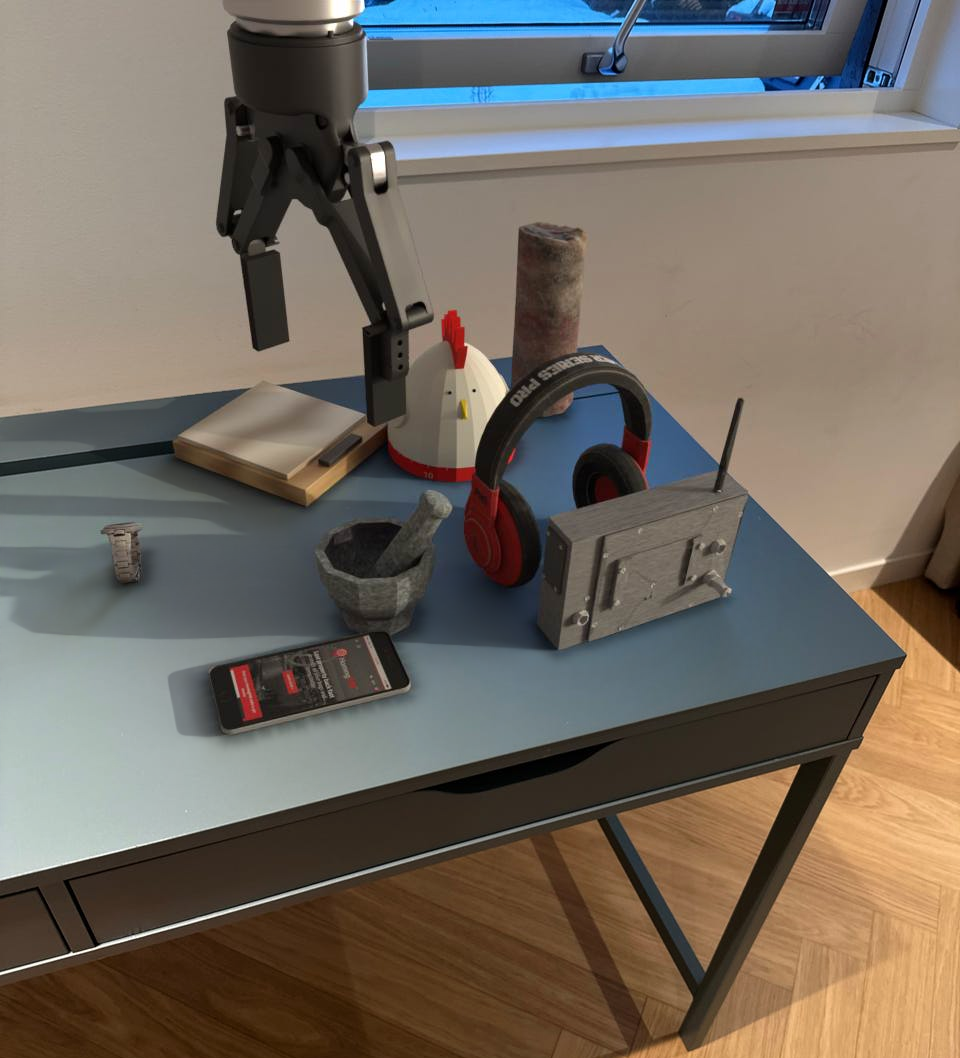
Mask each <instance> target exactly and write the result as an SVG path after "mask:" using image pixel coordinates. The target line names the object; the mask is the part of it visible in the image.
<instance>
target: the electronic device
mask: <svg viewBox="0 0 960 1058" xmlns="http://www.w3.org/2000/svg"><path fill="white" fill-rule="evenodd" d="M744 404H745V399H744V398H743V397H738V398H737V401H736V403H735V406H734V410H733V414H732V417H731V421H730V424H729V428H728V432H727V434H726V435H727V436H726V439H725V442H724V443H725V444H724V446H723V451H722V454H721V457H720V461H719V465H718V469H715V470H712V471H708V472H705V473H701V474H698V475H695V476H691V477H687V478H683V479H680V480H676V481H673V482H669V483H665V484H662V485H659V486H655V487H650V488H649V489H647V490H643V491H640V492H636V493H633V494H629V495H626V496H622V497H618V498H615V499H611V500H608V501H604V502H600V503H597V504H593V505H590V506H586V507H582V508H579V509H577V508H576V509H572V510H569V511H565V512H561V513H558V514H554V515H550V516H548V520H547V528H546V535H545V544H544V545H545V547H544V554H543V563H542V571H541V573H542V574H541V584H540V594H539V601H538V602H539V603H538V612H537V621H536V624H537V626H538V627H539V629H540V630H541V631H542V633H544V635H545V636H546V637H547V639H548V640H549V641H550V643H552V645H553V646H554V647H555V648H556V649H557V651H561V650H563V649H568V648H571V647H573V646H576V645H578V644H582V643H584V642H588V643H589V642H592V641H595V640H598V639H602V638H604V637H607V636H610V635H613V634H616V633H619V632H622V631H625V630H628V629H630V628H634V627H636V626H639V625H642V624H643V625H644V624H645V623H649V622H651V621H655V620H657V619H661V618H663V617H666V616H668V615H672V614H675V613H677V612H681V611H683V610H686V609H690V608H692V607H695V606H698V605H702V604H705V603H707V602H710V601H713V600H717V599H719V598H727V597H729V596H730V595H731V593H732V591H733V590H732V588H731V587H729V586H728V585H727V584H726V583H725V580H726V576H727V573H728V570H729V567H730V562H731V558H732V555H733V551H734V548H735V544H736V541H737V539H738V534H739V530H740V528H741V524H742V520H743V516H744V513H745V508H746V506H747V503H748V499H749V495H748V493H749V490H748V489H746V488H745V487H744V486H742V484H740V483H739V482H738V481H736V480H735V479H734V478H733V477H732V476H730V474H728V470H729V467H730V462H731V458H732V454H733V450H734V445H735V443H736V437H737V433H738V429H739V425H740V421H741V416H742V412H743V408H744Z"/></svg>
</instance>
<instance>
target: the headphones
mask: <svg viewBox="0 0 960 1058" xmlns="http://www.w3.org/2000/svg"><path fill="white" fill-rule="evenodd" d="M600 384H601V385H602V384H603V385H609V386H611V387H613V388H614V389H615V390H616V391H617V392H618V395H619V398H620V401H621V403H620V404H621V408H622V413H623V421H624V425H623V432H622V433H623V435H622V440H621V445H620V446H618V445H616V444H613V443H607V442H604V443H603V442H602V443H598V444H595V445H591V446H589V447H588V448H586V449H584V451H583V452H582V453H581V454H580V455H579V457H578V458H577V461H576V463H575V465H574V469H573V473H572V482H571V483H572V484H571V486H572V487H571V489H572V494H573V500H574V504H575V508H576V509H579V508H582V507H586V506H590V505H593V504H597V503H600V502H604V501H608V500H611V499H615V498H618V497H622V496H626V495H629V494H633V493H636V492H640V491H643V490H647V489H650V487H649V483H648V480H647V478H646V476H645V475H646V470H647V468H648V464H649V458H650V452H651V446H652V439H651V438H650V437H651V434H652V429H653V410H652V403H651V402H652V401H651V399H650V396H649V395H650V394H649V393H648V391H647V389H646V387H645V385H644V384H643V383H642V382H641V380H640V379H639V378H638V377H637V376H636V375H635V374H634V373H632V372H631V371H629V370H628V369H626V368H625V367H623V366H622V365H621V364H619V363H618V362H616V361H614V360H613V359H611V358H610V357H608V356H607V355H604V354H600V353H598V352H594V351H577V352H576V353H570V354H566V355H563V356H560V357H557V358H554V359H551V360H549V361H547V362H546V363H544V364H542V365H540V366H538V367H536V368H535V369H534V370H532V371H531V372H530V373H528V374H527V375H526V376H525V377H523V378H522V379H521V380H520V381H519V382H518V383H517V384H516V385H515V386H514V387H513V388H512V389H511V388H510V389H509V390H510V391H509V392H508V393H507V394H506V396H505V397H504V398H503V399H502V401H501V402H500V403H499V405H498V406H497V407H496V409H495V410H494V412H493V414H492V416H491V417H490V419H489V421H488V422H487V424H486V427H485V429H484V431H483V434H482V436H481V439H480V442H479V445H478V448H477V452H476V458H475V472H473V473H472V480H471V483H470V484H471V485H470V492H469V494H468V497H467V500H466V503H465V506H464V513H463V515H464V519H463V524H462V532H463V533H462V534H463V538H464V542H465V546H466V548H467V551H468V553H469V555H470V557H471V558H472V560H473V561H474V563H475V564H476V566H478V567H479V568H480V569H481V570H482V571H483V572H484V574H485V575H486V576H487V577H488V578H490V579H491V580H492V581H493V582H496V583H497V584H498V585H500V586H502V587H505V588H507V589H515V588H522V587H523V586H525V585H527V584H528V583H529V582H531V581H533V580H534V578H535V577H536V575H537V574H538V571H539V569H540V565H541V562H542V553H543V551H542V549H543V548H542V547H543V545H542V539H541V533H540V530H539V525H538V523H537V518H536V516H535V514H534V512H533V510H532V507H531V506H530V504H529V502H528V501H527V499H526V497H525V496H524V494H523V493H522V492H520V490H519V489H518V488H517V487H516V486H515V485H513V484H512V483H510V482H509V481H507V480H505V479H503V476H504V474H505V472H506V470H507V466H508V464H509V463H508V461H509V459H510V457H511V455H512V453H513V451H514V449H515V450H516V447H517V445H518V443H519V442H520V440H521V439H522V438H523V436H524V435H525V433H526V432H527V431H528V430H529V429H530V428H531V426H532V425H533V424H534V422H536V421H537V419H538V418H540V417H539V416H540V415H541V414H542V413H543V412H544V411H546V410H547V409H548V408H549V407H550V406H552V405H553V404H554V403H556V402H557V401H558V400H560V399H561V398H563V397H564V396H566V395H568V394H570V393H572V392H575V391H578V390H581V389H584V388H586V387H588V386H595V385H600ZM514 452H515V451H514Z"/></svg>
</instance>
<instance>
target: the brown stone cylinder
mask: <svg viewBox="0 0 960 1058" xmlns="http://www.w3.org/2000/svg"><path fill="white" fill-rule="evenodd" d="M517 234H518V236H517V257H516V258H517V259H516V281H515V303H514V319H513V320H514V321H513V322H514V323H513V324H514V325H513V337H512V338H513V339H512V353H511V354H512V356H511V377H510V379H511V381H510V390H511V389H512V388H513V387H514V386H515V385H516V384H517V383H518V382H519V381H520V380H521V379H522V378H523V377H525V376H526V375H527V374H528V373H530V372H531V371H532V370H534V369H535V368H536V367H538V366H540V365H542V364H544V363H546V362H547V361H549V360H551V359H554V358H557V357H560V356H563V355H566V354H570V353H576V352H578V342H579V341H578V340H579V329H580V320H581V319H580V318H581V305H582V295H583V283H584V273H585V263H586V262H585V261H586V251H587V239H588V234H587V231H586V229H584V228H583V227H581V226H576V227H573V226H572V227H571V226H568V225H562V226H561V225H558V224H553V223H550V222H547V221H546V222H545V221H537V222H532V223H527V224H524V225H521V226H519V227H518V233H517ZM574 392H575V391H574ZM574 392H572V393H570V394H568V395H566V396H564V397H563V398H561V399H560V400H558V401H557V402H556V403H554V404H553V405H552V406H550V407H549V408H548V409H547V410H546V411H544V412H543V413H542V414H541V415H540V416H539V417H538V418H547V417H551V416H553V415H559V414H563V413H564V412H565V411H566V410H567V409H568V407H569V406H570V405H571V404H572V402H573V401H574Z"/></svg>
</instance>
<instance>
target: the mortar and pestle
mask: <svg viewBox="0 0 960 1058" xmlns="http://www.w3.org/2000/svg"><path fill="white" fill-rule="evenodd" d="M452 510H453V505H452V503H451V502H450V500H449V499H448V498H447V497H446V496H445V495H443V493H441V492H438V491H436V490H433V489H424V491H423V492H422V493H421V494H420V496H419V499H418V504H417V506H416V507H415V509H414V510H413V512H411V515H409V516H408V518H407V520H406V521H402V520H400V519H397V518H393V517H371V518H366V517H365V518H354V519H351V520H350V521H347V522H345V523H343V524H341V525H338V526H336V527H334V528H331V529H329V530H326V532H325V534H324V536H323V537H322V539H321V541H320V542H319V544H318V545H317V548H316V549H315V550H314V556H315V557H314V559H315V566H316V569H317V573H318V575H319V579H320V581H321V583H322V585H323V587H324V589H325V590H326V592H327V594H328V596H329V597H330V599H331V601H332V602H333V604H335V605H336V607H337V608H338V609H339V610H341V617H342V618H343V620H344V622H345V624H346V625H347V628H348V629H349V630H350V631H353V632H356V633H357V634H361V633H365V632H370V631H371V632H382V631H387V632H388V633H389V634H390V637H391V636H394V635H395V634H397V633H399V632H401V631H402V630H405V629H406V628H408V627H410V625H411V622H412V620H413V617H414V614H415V607H416V606H417V605H419V603H420V601H421V600H422V598H423V597H424V596H425V593H426V591H427V589H428V586H429V583H430V581H431V579H432V575H433V571H434V566H435V562H436V546H435V545H434V543H433V542H432V539H433V537H434V535H435V533H436V531H437V529H438V528H439V526H440V524H441V523H442V521H443V520H445V519H447V518H448V517H449V516H450V514H451V512H452Z"/></svg>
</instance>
